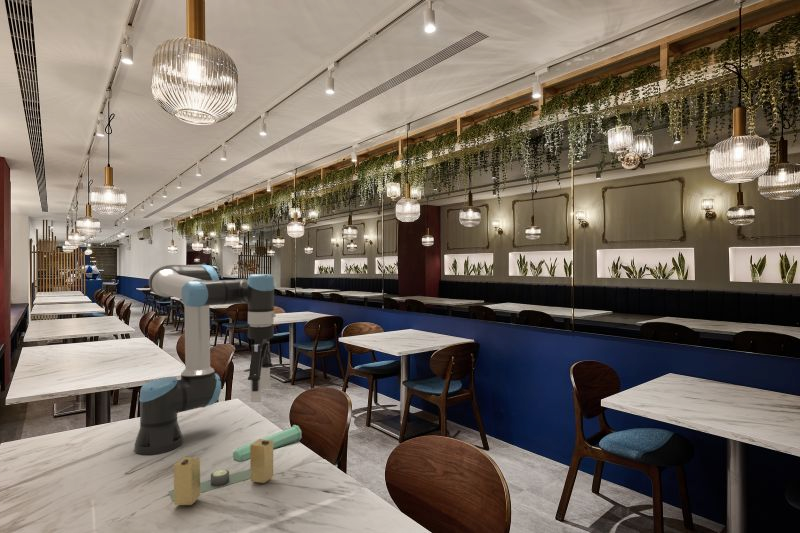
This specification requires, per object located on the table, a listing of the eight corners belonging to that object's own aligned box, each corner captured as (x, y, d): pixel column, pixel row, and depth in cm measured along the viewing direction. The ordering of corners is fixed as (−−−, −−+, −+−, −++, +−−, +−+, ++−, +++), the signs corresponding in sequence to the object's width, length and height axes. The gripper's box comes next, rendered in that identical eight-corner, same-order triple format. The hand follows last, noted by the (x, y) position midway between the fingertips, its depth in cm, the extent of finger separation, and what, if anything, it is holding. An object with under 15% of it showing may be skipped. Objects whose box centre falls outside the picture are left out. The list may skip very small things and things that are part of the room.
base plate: (168, 495, 123) (168, 480, 123) (260, 469, 139) (260, 455, 138) (175, 514, 114) (175, 497, 114) (274, 484, 129) (273, 469, 129)
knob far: (250, 484, 127) (250, 443, 127) (259, 477, 132) (259, 437, 131) (264, 486, 126) (264, 445, 126) (273, 479, 130) (273, 438, 130)
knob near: (183, 499, 119) (183, 455, 119) (200, 499, 119) (199, 455, 119) (174, 508, 115) (173, 463, 115) (191, 508, 114) (191, 463, 114)
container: (237, 447, 142) (299, 423, 161) (228, 449, 145) (290, 426, 165) (241, 465, 140) (303, 439, 160) (232, 468, 144) (294, 442, 163)
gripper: (265, 331, 122) (265, 407, 122) (280, 319, 146) (280, 382, 147) (237, 331, 121) (237, 408, 121) (257, 319, 146) (257, 383, 146)
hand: (260, 394), depth 134 cm, fingers open, 13 cm apart
